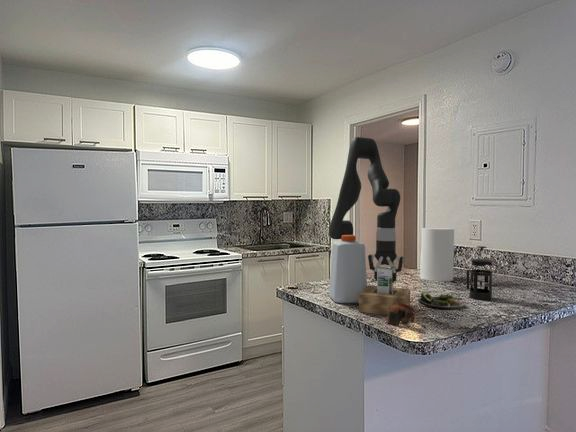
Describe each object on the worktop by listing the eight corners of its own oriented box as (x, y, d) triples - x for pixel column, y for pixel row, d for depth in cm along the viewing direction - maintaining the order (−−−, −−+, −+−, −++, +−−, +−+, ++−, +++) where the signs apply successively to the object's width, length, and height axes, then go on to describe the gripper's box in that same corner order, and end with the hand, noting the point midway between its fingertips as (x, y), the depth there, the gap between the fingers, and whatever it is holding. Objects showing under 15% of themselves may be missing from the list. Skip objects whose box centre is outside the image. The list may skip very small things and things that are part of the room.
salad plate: (450, 298, 179) (450, 288, 179) (477, 308, 162) (477, 297, 162) (411, 300, 175) (411, 290, 175) (434, 311, 158) (434, 300, 158)
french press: (498, 299, 177) (499, 247, 176) (486, 301, 172) (487, 248, 171) (473, 293, 187) (474, 244, 186) (461, 296, 181) (462, 245, 180)
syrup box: (376, 305, 158) (377, 268, 158) (378, 301, 164) (379, 266, 163) (391, 306, 156) (391, 269, 156) (393, 302, 162) (393, 267, 161)
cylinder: (458, 281, 215) (459, 229, 214) (426, 281, 215) (427, 229, 214) (446, 275, 232) (447, 227, 231) (416, 275, 232) (417, 227, 231)
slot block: (358, 311, 155) (358, 294, 155) (368, 301, 171) (368, 285, 171) (404, 317, 149) (404, 298, 148) (409, 306, 164) (410, 289, 164)
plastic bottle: (370, 303, 169) (371, 236, 168) (336, 304, 166) (336, 237, 165) (358, 294, 184) (359, 233, 183) (326, 296, 181) (327, 234, 180)
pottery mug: (379, 321, 145) (386, 300, 147) (402, 332, 146) (408, 311, 149) (396, 322, 134) (403, 299, 136) (420, 334, 135) (427, 311, 137)
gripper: (365, 239, 158) (365, 281, 159) (403, 240, 153) (402, 284, 153) (369, 237, 165) (369, 278, 166) (405, 239, 160) (405, 281, 160)
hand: (385, 281), depth 160 cm, fingers closed on syrup box, 5 cm apart
